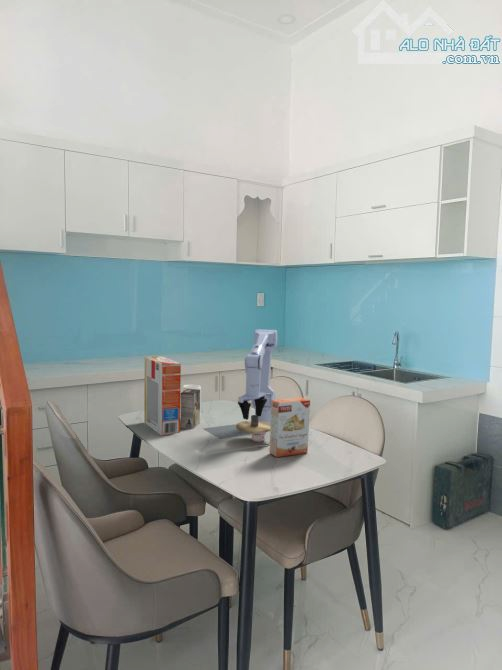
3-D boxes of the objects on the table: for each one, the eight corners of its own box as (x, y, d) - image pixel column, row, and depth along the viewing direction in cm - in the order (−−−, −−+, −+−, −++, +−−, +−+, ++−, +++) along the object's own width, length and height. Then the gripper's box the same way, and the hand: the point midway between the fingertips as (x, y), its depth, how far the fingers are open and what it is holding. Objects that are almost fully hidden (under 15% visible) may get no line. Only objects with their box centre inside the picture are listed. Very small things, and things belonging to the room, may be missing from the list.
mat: (235, 425, 232) (235, 424, 232) (253, 434, 218) (253, 433, 218) (202, 429, 224) (203, 428, 224) (219, 439, 210) (219, 438, 210)
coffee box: (186, 423, 234) (187, 388, 232) (200, 424, 232) (200, 389, 231) (179, 428, 225) (180, 392, 223) (193, 429, 223) (194, 393, 222)
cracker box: (277, 458, 189) (278, 402, 187) (268, 453, 195) (270, 399, 193) (308, 453, 196) (310, 399, 194) (300, 448, 201) (301, 396, 199)
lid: (253, 420, 218) (253, 409, 218) (280, 428, 208) (281, 416, 208) (228, 427, 207) (228, 415, 207) (255, 435, 197) (256, 423, 197)
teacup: (252, 436, 216) (252, 422, 216) (278, 441, 211) (278, 426, 210) (238, 443, 206) (238, 428, 205) (264, 449, 200) (265, 433, 200)
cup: (203, 419, 241) (204, 385, 239) (192, 423, 234) (193, 388, 232) (190, 416, 245) (190, 383, 244) (179, 420, 238) (179, 386, 237)
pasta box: (179, 433, 218) (180, 363, 215) (161, 435, 214) (162, 364, 211) (161, 420, 237) (161, 356, 234) (144, 422, 233) (144, 357, 230)
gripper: (257, 380, 213) (256, 412, 215) (233, 384, 203) (232, 418, 204) (270, 383, 208) (269, 415, 210) (246, 387, 198) (245, 422, 199)
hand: (252, 417), depth 207 cm, fingers open, 7 cm apart
